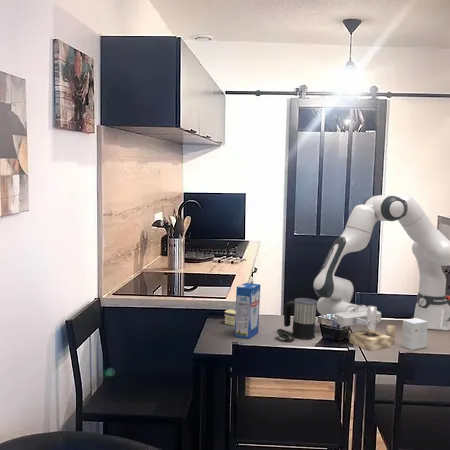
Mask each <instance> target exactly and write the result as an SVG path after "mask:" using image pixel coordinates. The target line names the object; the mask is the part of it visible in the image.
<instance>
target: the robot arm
mask: <svg viewBox="0 0 450 450" xmlns="http://www.w3.org/2000/svg"><path fill="white" fill-rule="evenodd" d="M378 221H380V222H386V221H387V222H396V221H398V223H399V224H400V225H401V227H402V228H403V230H404V231H405V233H406V234H407V235H408V236H409V239H411V240H412V241H413V243H412V247H411V251H412V254H413V256H414V258H415V259H416V263H417V267H418V271H419V272H418V273H419V281H418V282H419V285H418V287H419V288H418V292H417V295H416V297H417V299H416V300H417V302H416V304H415V308H414V314H413V317H412V318H411V319H414V318H419V319H422V320H425V321H428V328H427V330H428V329H429V330H437V331H450V305H449V303H448V301H450V295H447V294H446V288H447V278H446V277H447V276H446V275H445V273H444V271H443V269H442V267H445V266H446V267H447V266H450V240H449V239H448V238H447V237H446V236H445V235H444V233H442V232H441V231H440V230H439V229H438V228H437V227H436V226H435V225H434V224H433V222H432V221H431V219H430V218H429V217H428V215H427V214H426V213H425V211H424V210H423V208H422V206H421V205H420V204H419V203H418V202H417V201H416V200H415V199H414V198H413V197H412V196H411V195H409V194H400V195H398V196H396V195H388V194H381V195H380V194H378V195H375V194H374V195H371V196H368V197H366V199H364V201H363V202H362V204H357V205H355V206H354V208H352V211H351V213H350V215H349V216H348V219H347V222H346V225H345V228H344V230H343V232H342V233H341V235H340V236H339V237H337V238H336V239H335V240H334V242H333V244H332V245H331V247H330V249H329V251H328V253H327V255H326V256H325V257H326V258H325V260H324V262H323V264H322V266H321V268H320V270H319V272H318V273H317V275H316V276H315V277H314V279H313V282H312V287H313V292H314V293H315V294H316V295H317V297H318V300H317V305H316V310H317V312H318V313H319V314H320V315H321V316H323V315H327V314H335V315H332V316H331V319H334V320H333V321H335V320H336V321H337V323H336V324H338V325H339V326H340V325H341V326H343V327H350V326H351V327H352V326H358V325H363V326H366V325H369V323H370V321H369V320H367V305H364V304H358V303H357V304H356V303H355V304H354V303H351V301H352V299H353V296H354V293H355V289H354V288H355V287H354V284H353V282H352V281H351V280H349V279H346V278H342V277H339V276H336V275H335V273H336V271H337V269H338V266H339V265H340V263H341V260H342V258H343V257H344V256H345V255H347V254H349V253H354V252H355V253H356V252H360V251H362V250H364V249H365V248H367V246H368V244H369V243H370V240H371V237H372V233H373V229H374V226H375V225H376V224H377V222H378ZM323 317H324V316H323ZM331 319H330V320H331ZM381 320H382V313H381V311H378V310H377V315H376V325H378V324H379V323H380V322H381Z"/></svg>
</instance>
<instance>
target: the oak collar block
mask: <svg viewBox="0 0 450 450" xmlns="http://www.w3.org/2000/svg"><path fill="white" fill-rule="evenodd" d="M349 344H352V345H355V346H357V347H360V348H362V349H365V350H366V351H370V352H371V351H377V350H381V349H387V348H391V346H392V345H391V337H390V336H387V335H386V334H385V333H381V332H379V331H376V330H375V337H368V336H366V329H364V330H359V331H353V332H349Z"/></svg>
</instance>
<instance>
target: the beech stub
mask: <svg viewBox="0 0 450 450" xmlns="http://www.w3.org/2000/svg"><path fill="white" fill-rule="evenodd" d="M385 335H387V336H390V337H391V346H392V345H395V342H396V341H395V340H396V339H395V337H396V325H393V324H387V325H386V334H385Z"/></svg>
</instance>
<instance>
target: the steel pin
mask: <svg viewBox="0 0 450 450" xmlns="http://www.w3.org/2000/svg"><path fill="white" fill-rule="evenodd" d="M366 307H367V320H369V321H370V323H369V325H365V330H366V336H368V337H375V331H376V327H377V324H376V315H377V311H378V307H377V306H374V305H366Z"/></svg>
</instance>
